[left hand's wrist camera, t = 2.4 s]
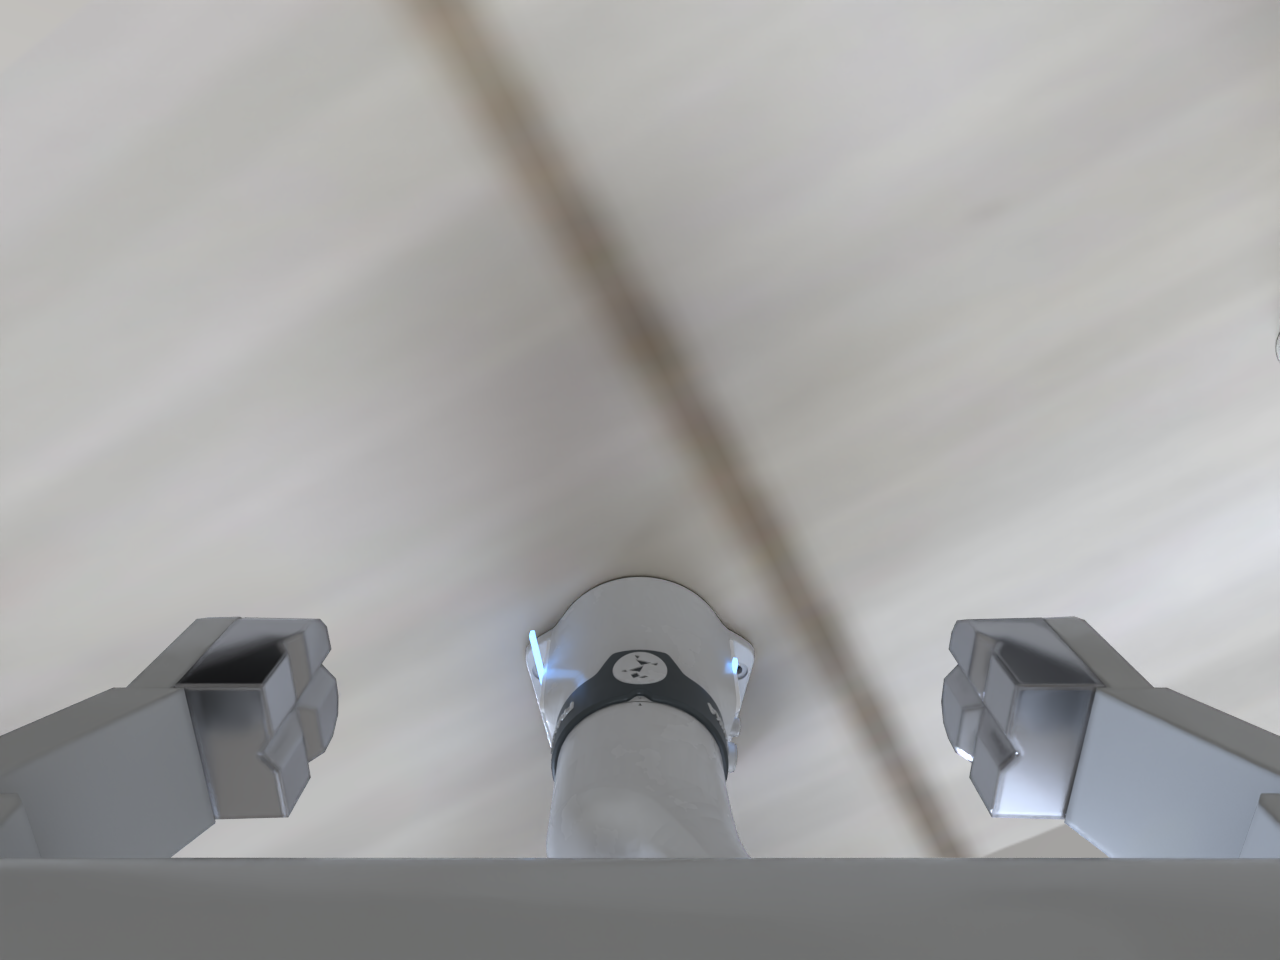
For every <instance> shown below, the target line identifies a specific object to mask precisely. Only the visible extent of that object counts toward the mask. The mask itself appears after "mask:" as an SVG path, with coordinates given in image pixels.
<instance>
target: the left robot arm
mask: <svg viewBox="0 0 1280 960" xmlns="http://www.w3.org/2000/svg"><path fill="white" fill-rule="evenodd" d="M529 637H530V642H531V643H530V644H529V645H528V647H527V649H526V664H527V667H528V670H529V674H530V677H531V681H532V684H533V688H534V691H535V695H536V698H537V702H538V705H539V708H540V712H541V715H542V719H543V722H544V726H545V729H546V733H547V736H548V740H549V743H550V746H551V754H552V759H551V769H552V775H553V780H554V790H553V797H552V804H551V811H550V818H549V825H548V832H547V840H546V852H547V858H170V857H172V856H173V855H174V854H176V853H177V852H178V851H180V850H181V849H182V848H183V847H185V846H186V845H187V844H189V843H190V842H191V841H193V840H194V839H195V838H196V837H198V836H199V835H200V834H202V833H203V832H204V831H206V830H207V829H208V828H209V827H211V826H212V825H213V824H215V819H243V818H278V817H289V815H290V813H291V811H292V810H293V808H294V806H295V804H296V803H297V801H298V799H299V797H300V795H301V794H302V792H303V790H304V788H305V786H306V785H307V783H308V781H309V779H310V778H311V777H310V771H309V765H308V763H309V762H310V761H312V760H313V759H315V758H316V757H318V756H319V755H321V754H323V753H324V752H325V750H326V748H327V746H328V745H329V743H330V741H331V739H332V737H333V734H334V729H335V725H336V721H337V717H338V689H337V682H336V678H335V677H334V676H333V675H332V674H331V673H330V672H329V671H328V670H327V669H326V668H325V667H324V666H323V665H322V663H323V661H324V660H325V658H326V657H327V655H328V653H329V652H330V650H331V645H330V640H329V635H328V630H327V626H326V625H325V624H324V623H323V622H322V621H321V619H301V618H249V617H245V618H241V617H207V618H200V619H196V620H195V621H194V622H193V623H192V624H191V625H190V626H189V627H188V628H187V629H186V630H185V631H184V632H183V633H182V634H181V635H180V636H179V637H178V638H177V639H176V640H175V641H174V642H173V643H171V644H170V645H169V646H168V647H167V648H166V649H165V650H164V651H163V652H162V653H161V654H160V655H159V656H158V657H157V658H156V659H155V660H154V661H153V662H152V663H151V664H150V665H149V666H148V667H147V668H146V669H145V670H144V671H143V672H142V673H141V674H140V675H139V676H137V677H136V678H135V679H134V680H133V681H132V682H131V683H130V684H129V685H128V686H127V687H126V688H111V689H109V690H107V691H104V692H102V693H100V694H97V695H95V696H93V697H90V698H88V699H86V700H83V701H81V702H79V703H76V704H74V705H72V706H69V707H67V708H65V709H62V710H60V711H58V712H55V713H53V714H51V715H48V716H46V717H44V718H41V719H39V720H37V721H34V722H32V723H30V724H27V725H25V726H23V727H20V728H18V729H16V730H13V731H11V732H9V733H6V734H4V735H2V736H0V960H1280V736H1278V735H1276V734H1273V733H1271V732H1269V731H1266V730H1264V729H1262V728H1259V727H1257V726H1255V725H1252V724H1250V723H1248V722H1245V721H1243V720H1241V719H1239V718H1236V717H1234V716H1232V715H1229V714H1227V713H1225V712H1222V711H1220V710H1218V709H1215V708H1213V707H1211V706H1208V705H1206V704H1204V703H1201V702H1199V701H1197V700H1194V699H1192V698H1190V697H1187V696H1185V695H1183V694H1180V693H1178V692H1176V691H1173V690H1171V689H1169V688H1154V687H1153V686H1152V685H1151V684H1150V683H1149V682H1148V681H1147V680H1146V679H1145V678H1144V677H1143V676H1142V675H1141V674H1140V673H1138V672H1137V671H1136V670H1135V669H1134V668H1133V667H1132V666H1131V665H1130V664H1129V663H1128V662H1127V661H1126V660H1125V659H1124V658H1123V657H1122V656H1121V655H1120V654H1119V653H1118V652H1117V651H1116V650H1115V649H1114V648H1113V647H1112V646H1111V645H1110V644H1109V643H1108V642H1107V641H1106V640H1105V639H1104V638H1103V637H1102V636H1100V635H1099V634H1098V633H1097V632H1096V631H1095V630H1094V629H1093V628H1092V627H1091V626H1090V625H1089V624H1088V623H1087V622H1086V621H1085V620H1083V619H1080V618H1077V617H1049V618H1005V619H966V620H957V621H956V624H955V626H954V628H953V630H952V633H951V639H950V644H949V650H950V652H951V653H952V655H953V657H954V658H955V660H956V661H957V663H958V665H957V666H956V667H955V668H954V669H953V670H952V671H951V672H950V673H949V674H948V675H947V676H946V677H945V678H944V683H943V691H942V700H941V704H942V714H943V723H944V727H945V730H946V733H947V736H948V739H949V741H950V743H951V745H952V747H953V748H954V750H955V752H956V753H957V754H959V755H961V756H962V757H964V758H965V759H967V760H968V761H970V762H971V763H972V765H971V771H970V777H969V778H970V779H971V781H972V783H973V785H974V786H975V788H976V790H977V792H978V794H979V795H980V797H981V799H982V801H983V802H984V804H985V806H986V808H987V809H988V811H989V813H990V815H991V817H999V818H1036V819H1065V821H1064V823H1066V824H1067V825H1068V826H1070V827H1071V828H1072V829H1073V830H1075V831H1076V832H1077V833H1079V834H1080V835H1081V836H1083V837H1084V838H1085V839H1086V840H1088V841H1089V842H1090V843H1092V844H1093V845H1094V846H1096V847H1097V848H1098V849H1099V850H1101V851H1102V852H1103V853H1105V854H1106V855H1107V856H1108V857H1110V858H751V857H750V856H749V854H748V853H747V851H746V850H745V848H744V846H743V844H742V842H741V840H740V838H739V835H738V832H737V829H736V825H735V822H734V818H733V814H732V811H731V806H730V802H729V797H728V792H727V787H726V780H727V775H728V772H730V773H731V772H734V770H735V768H736V763H737V745H736V744H734V743H732V742H731V740H732V736H739V734H740V728H741V721H740V719H739V718H738V715H739V712H740V709H741V705H742V702H743V698H744V695H745V691H746V688H747V684H748V681H749V677H750V674H751V671H752V667H753V664H754V649H753V647H752V645H751V644H750V643H749V642H748V641H747V640H745V639H744V638H742V637H741V636H739V635H737V634H736V633H734V632H732V631H730V630H728V629H727V628H726V627H725V626H724V625H723V624H722V622H721V621H720V620H719V618H718V617H717V615H716V614H715V613H714V611H713V610H712V609H711V607H710V606H709V605H708V604H707V603H706V602H705V601H704V600H703V599H701V598H700V597H699V596H698V595H696V594H695V593H693V592H692V591H690V590H689V589H687V588H685V587H683V586H681V585H678V584H676V583H673V582H670V581H667V580H663V579H658V578H651V577H629V578H622V579H617V580H613V581H610V582H607V583H604V584H602V585H599V586H597V587H595V588H593V589H591V590H590V591H588V592H587V593H585V594H584V595H582V596H581V597H580V598H579V599H577V600H576V601H575V602H574V603H573V604H572V605H571V606H570V608H569V609H568V610H567V611H566V613H565V614H564V615H563V617H562V618H561V620H560V621H559V622H558V624H557V625H556V626H555V627H554V628H553V629H552V630H550V631H548V632H546V633H545V634H543V635H541V636H539V637H538V638H536V635H535V631H530V635H529ZM543 665H544V668H543ZM738 665H739V666H741V667H740V668H739V669H737V667H738Z"/></svg>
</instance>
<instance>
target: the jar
mask: <svg viewBox="0 0 1280 960" xmlns="http://www.w3.org/2000/svg"><path fill="white" fill-rule="evenodd" d="M1276 352H1277V357H1278V359H1279V361H1280V334H1279V337H1278V340H1277V345H1276Z"/></svg>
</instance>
